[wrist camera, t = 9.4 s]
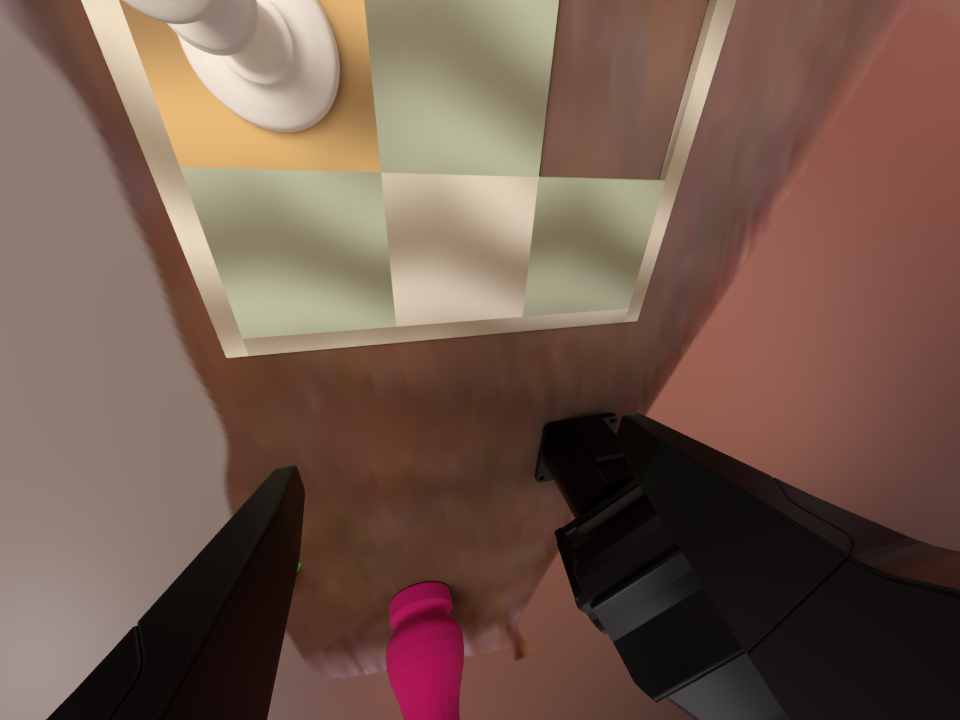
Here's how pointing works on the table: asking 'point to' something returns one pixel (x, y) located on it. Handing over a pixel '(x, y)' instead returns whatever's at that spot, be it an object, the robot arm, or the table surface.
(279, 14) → the chess piece
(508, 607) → the table surface
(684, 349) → the table surface
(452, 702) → the pepper mill
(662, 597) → the robot arm
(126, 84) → the game board
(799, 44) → the table surface
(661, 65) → the table surface
